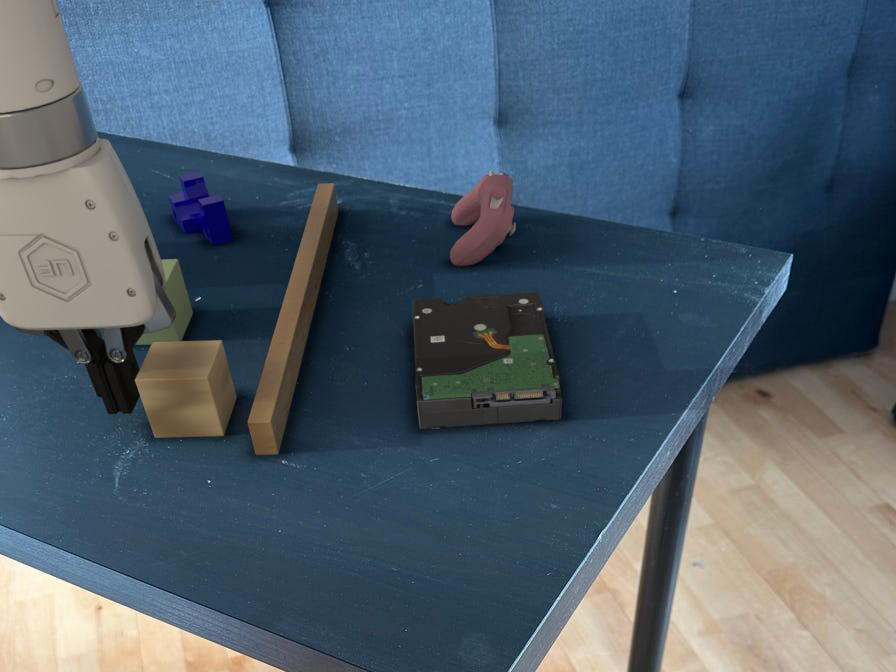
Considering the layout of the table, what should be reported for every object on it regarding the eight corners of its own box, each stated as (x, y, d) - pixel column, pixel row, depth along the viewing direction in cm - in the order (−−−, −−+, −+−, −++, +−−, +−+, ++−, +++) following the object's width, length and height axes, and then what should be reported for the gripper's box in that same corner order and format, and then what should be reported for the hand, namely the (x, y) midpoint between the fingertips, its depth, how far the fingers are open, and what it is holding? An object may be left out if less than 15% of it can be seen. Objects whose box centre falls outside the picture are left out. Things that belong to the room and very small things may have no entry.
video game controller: (492, 285, 84) (527, 213, 79) (445, 265, 82) (478, 190, 78) (491, 237, 91) (523, 168, 86) (447, 218, 89) (478, 146, 85)
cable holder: (175, 221, 92) (163, 179, 89) (209, 213, 93) (199, 171, 90) (197, 252, 87) (186, 209, 84) (233, 243, 88) (223, 200, 85)
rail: (256, 458, 65) (247, 422, 63) (322, 215, 92) (317, 183, 90) (279, 458, 65) (270, 421, 63) (339, 214, 92) (334, 182, 90)
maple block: (155, 441, 67) (134, 379, 63) (172, 402, 70) (152, 341, 66) (225, 439, 67) (207, 377, 63) (237, 400, 70) (222, 339, 66)
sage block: (120, 349, 76) (99, 290, 72) (135, 318, 79) (116, 260, 75) (181, 347, 76) (163, 288, 72) (194, 316, 79) (178, 258, 75)
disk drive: (412, 331, 76) (419, 434, 66) (409, 299, 74) (416, 400, 64) (538, 322, 76) (565, 423, 66) (539, 289, 74) (566, 388, 64)
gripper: (-131, 157, 51) (5, 436, 65) (136, 147, 51) (218, 431, 64) (-75, 110, 57) (40, 378, 70) (168, 100, 56) (238, 372, 70)
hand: (125, 402), depth 67 cm, fingers closed
